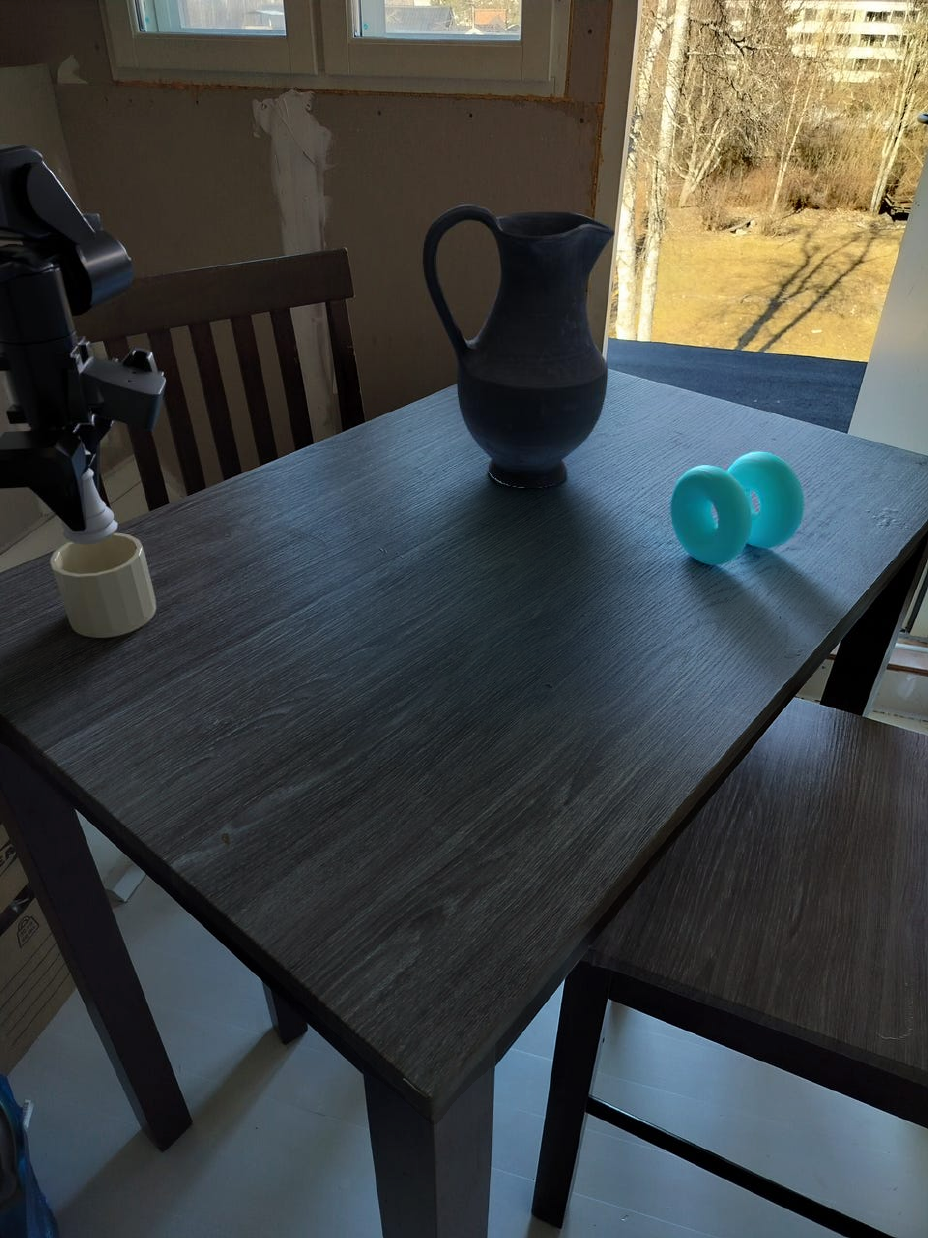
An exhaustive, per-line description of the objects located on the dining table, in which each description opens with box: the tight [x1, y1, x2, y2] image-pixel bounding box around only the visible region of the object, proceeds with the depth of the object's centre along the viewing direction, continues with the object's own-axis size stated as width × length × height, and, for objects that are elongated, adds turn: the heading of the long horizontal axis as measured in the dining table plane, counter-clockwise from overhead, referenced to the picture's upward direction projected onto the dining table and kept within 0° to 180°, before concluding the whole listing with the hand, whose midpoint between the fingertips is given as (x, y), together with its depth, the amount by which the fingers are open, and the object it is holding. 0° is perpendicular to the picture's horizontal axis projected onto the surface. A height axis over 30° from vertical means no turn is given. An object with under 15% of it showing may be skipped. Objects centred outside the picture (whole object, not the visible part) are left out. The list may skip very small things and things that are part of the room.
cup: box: [49, 531, 157, 639], centre depth 77 cm, size 8×8×6 cm
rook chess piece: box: [60, 444, 118, 545], centre depth 72 cm, size 4×4×8 cm
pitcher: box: [422, 204, 615, 489], centre depth 95 cm, size 17×21×30 cm
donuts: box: [669, 451, 805, 566], centre depth 86 cm, size 10×10×10 cm
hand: (86, 517), depth 73 cm, fingers closed on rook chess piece, 4 cm apart
